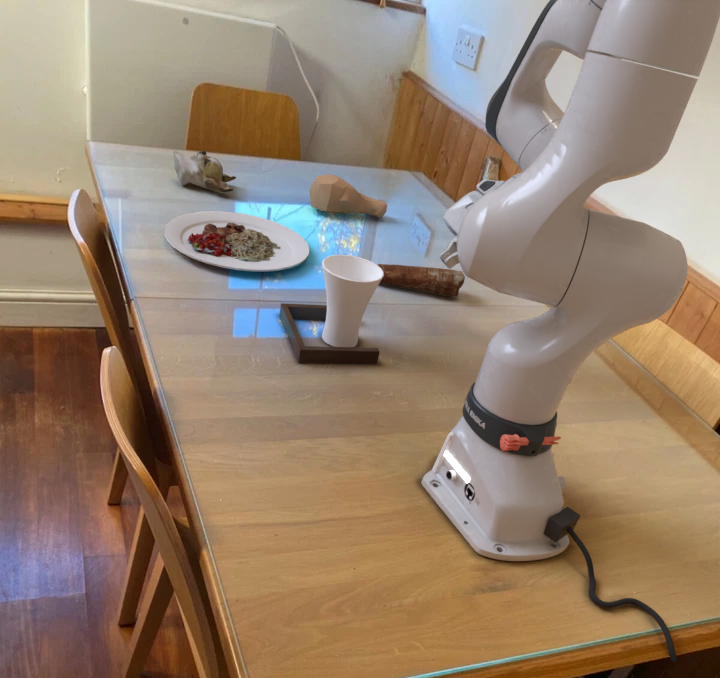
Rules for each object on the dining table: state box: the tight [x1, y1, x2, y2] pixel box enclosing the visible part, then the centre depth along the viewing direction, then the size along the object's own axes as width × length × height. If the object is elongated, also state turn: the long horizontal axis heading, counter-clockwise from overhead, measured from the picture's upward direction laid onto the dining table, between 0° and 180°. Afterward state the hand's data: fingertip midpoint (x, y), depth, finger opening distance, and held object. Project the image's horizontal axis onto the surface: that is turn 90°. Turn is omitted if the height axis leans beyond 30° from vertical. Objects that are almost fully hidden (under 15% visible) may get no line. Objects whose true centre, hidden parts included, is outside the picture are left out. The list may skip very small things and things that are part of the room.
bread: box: [377, 263, 466, 297], centre depth 147 cm, size 6×19×6 cm, turn 88°
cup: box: [321, 254, 384, 347], centre depth 121 cm, size 10×10×14 cm
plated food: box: [164, 210, 310, 272], centre depth 147 cm, size 30×30×3 cm
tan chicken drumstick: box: [309, 174, 388, 219], centre depth 174 cm, size 11×20×9 cm, turn 104°
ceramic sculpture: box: [173, 150, 237, 193], centre depth 169 cm, size 11×9×15 cm
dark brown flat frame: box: [279, 302, 381, 365], centre depth 123 cm, size 16×14×2 cm
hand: (443, 262), depth 121 cm, fingers closed
